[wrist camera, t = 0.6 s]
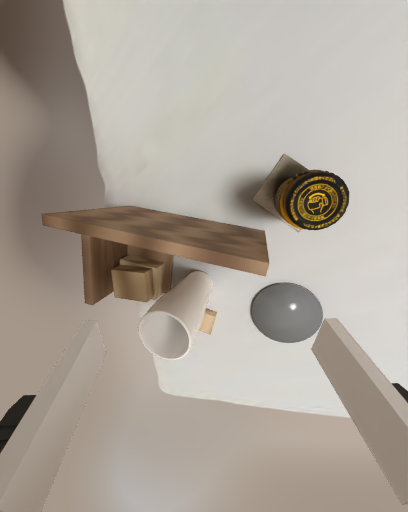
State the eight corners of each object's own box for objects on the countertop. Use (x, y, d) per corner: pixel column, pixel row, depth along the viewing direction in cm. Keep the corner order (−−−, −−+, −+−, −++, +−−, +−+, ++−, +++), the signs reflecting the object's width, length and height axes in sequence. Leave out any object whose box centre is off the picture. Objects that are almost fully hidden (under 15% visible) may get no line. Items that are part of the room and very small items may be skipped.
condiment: (298, 231, 31) (320, 253, 20) (252, 199, 31) (247, 202, 20) (335, 188, 28) (386, 185, 17) (284, 154, 28) (300, 128, 17)
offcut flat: (217, 311, 38) (215, 316, 37) (212, 328, 40) (210, 334, 38) (178, 297, 40) (174, 302, 38) (174, 314, 41) (170, 320, 39)
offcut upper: (152, 268, 34) (144, 273, 32) (154, 295, 35) (146, 302, 33) (120, 264, 35) (110, 269, 33) (123, 290, 37) (114, 297, 34)
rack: (264, 230, 32) (269, 263, 17) (245, 310, 36) (235, 390, 22) (125, 204, 37) (34, 212, 22) (124, 278, 41) (48, 325, 26)
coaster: (303, 272, 32) (304, 273, 31) (333, 329, 33) (334, 331, 33) (240, 297, 36) (240, 299, 35) (270, 347, 37) (270, 350, 37)
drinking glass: (206, 260, 36) (173, 302, 22) (224, 293, 37) (202, 354, 23) (175, 274, 38) (126, 320, 24) (192, 305, 39) (155, 366, 25)
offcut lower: (164, 262, 36) (157, 268, 34) (162, 292, 38) (154, 300, 36) (130, 254, 38) (119, 259, 35) (129, 283, 40) (119, 290, 37)
